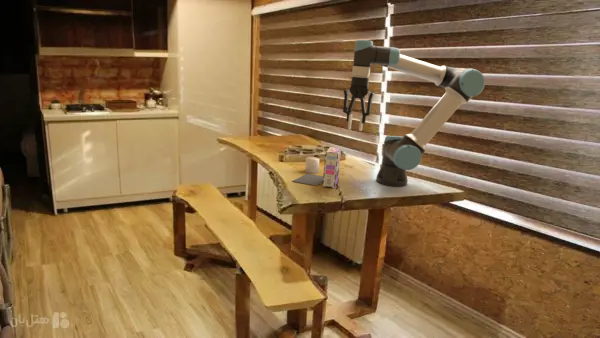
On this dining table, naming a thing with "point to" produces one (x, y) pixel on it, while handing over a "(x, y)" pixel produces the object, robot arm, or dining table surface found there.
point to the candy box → (331, 167)
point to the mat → (309, 179)
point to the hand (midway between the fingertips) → (354, 129)
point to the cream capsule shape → (312, 165)
